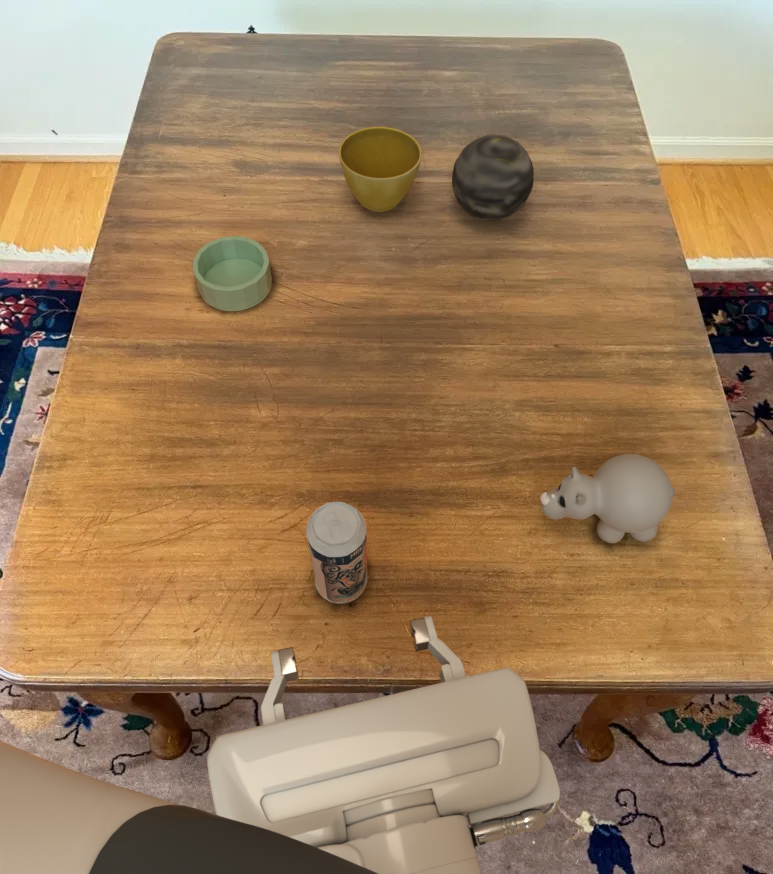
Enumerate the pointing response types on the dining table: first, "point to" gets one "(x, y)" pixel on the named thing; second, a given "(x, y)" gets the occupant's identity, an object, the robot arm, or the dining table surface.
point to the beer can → (338, 551)
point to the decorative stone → (492, 177)
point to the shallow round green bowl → (232, 273)
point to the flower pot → (379, 166)
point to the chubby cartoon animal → (615, 497)
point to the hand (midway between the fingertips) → (352, 635)
